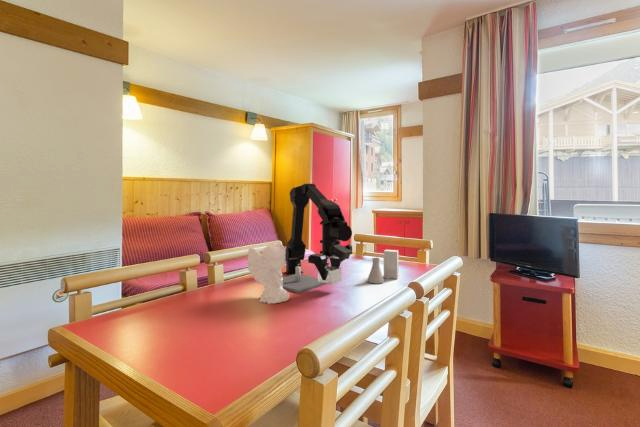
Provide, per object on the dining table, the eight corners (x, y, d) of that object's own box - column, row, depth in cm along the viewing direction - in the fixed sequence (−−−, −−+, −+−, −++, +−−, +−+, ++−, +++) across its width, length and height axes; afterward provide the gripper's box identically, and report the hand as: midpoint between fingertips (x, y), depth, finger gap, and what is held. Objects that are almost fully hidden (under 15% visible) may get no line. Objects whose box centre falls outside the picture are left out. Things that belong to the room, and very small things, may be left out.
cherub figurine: (264, 307, 110) (264, 247, 108) (246, 298, 119) (245, 242, 118) (296, 299, 119) (296, 243, 117) (277, 290, 128) (276, 239, 126)
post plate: (266, 284, 136) (266, 267, 135) (296, 275, 150) (296, 260, 149) (299, 293, 125) (299, 275, 124) (328, 282, 139) (329, 266, 138)
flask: (383, 279, 144) (384, 256, 143) (385, 284, 137) (385, 260, 136) (366, 279, 145) (367, 256, 144) (367, 283, 138) (367, 259, 137)
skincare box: (398, 277, 148) (399, 250, 147) (397, 279, 144) (397, 251, 143) (384, 275, 151) (385, 249, 150) (382, 278, 147) (383, 250, 146)
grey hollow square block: (317, 281, 127) (317, 268, 126) (327, 277, 132) (328, 265, 131) (331, 284, 123) (331, 271, 122) (341, 280, 128) (341, 267, 127)
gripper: (332, 243, 113) (331, 288, 115) (361, 236, 128) (360, 276, 129) (307, 239, 120) (307, 282, 122) (337, 234, 135) (337, 272, 136)
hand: (329, 278), depth 127 cm, fingers closed on grey hollow square block, 6 cm apart
